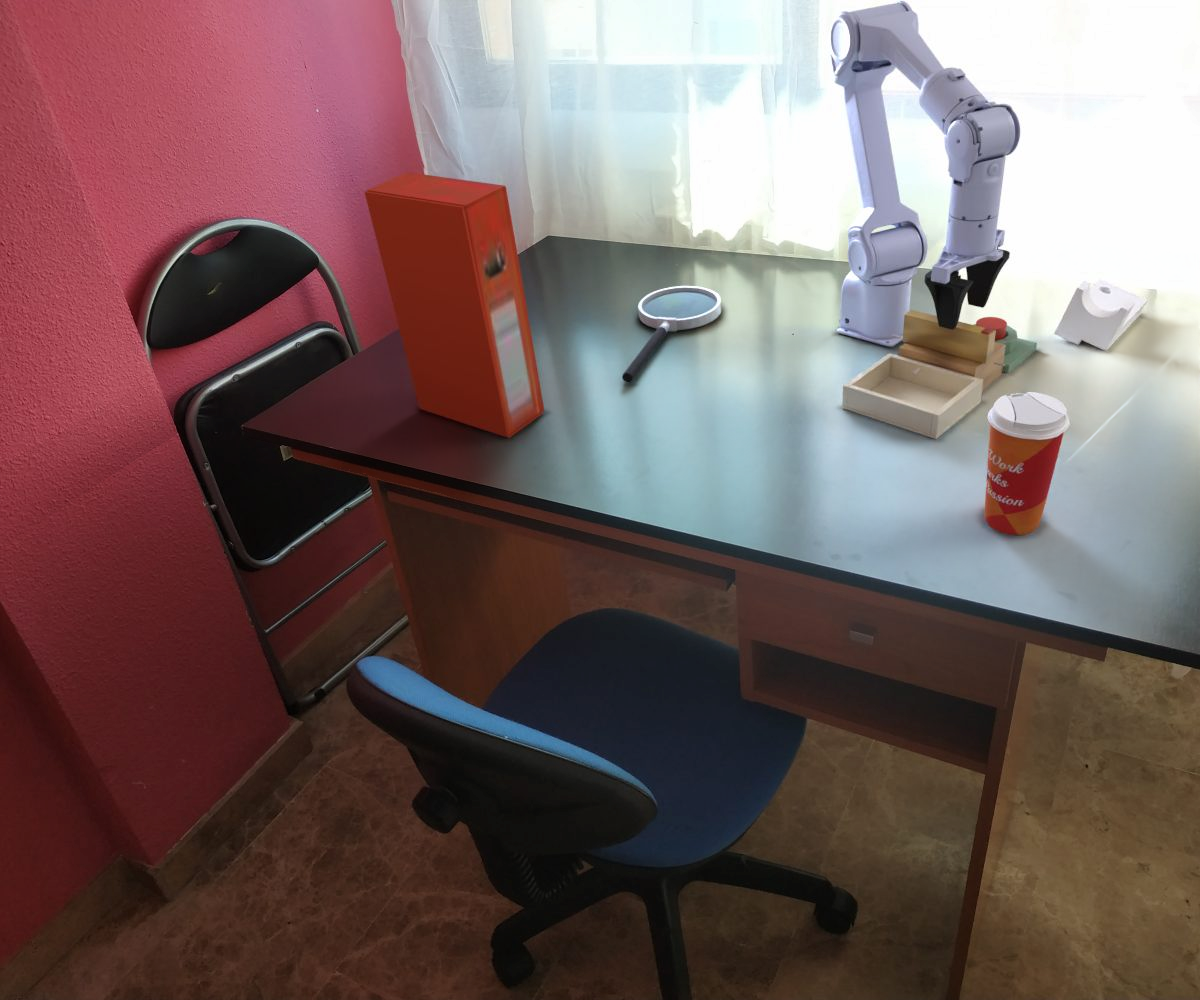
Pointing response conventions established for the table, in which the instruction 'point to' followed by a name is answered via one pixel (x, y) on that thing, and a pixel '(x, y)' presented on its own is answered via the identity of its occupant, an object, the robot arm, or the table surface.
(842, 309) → the robot arm
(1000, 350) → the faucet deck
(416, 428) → the table surface
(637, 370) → the magnifying glass
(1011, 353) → the tap control
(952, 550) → the table surface
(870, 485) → the table surface
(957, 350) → the golden tan long bar
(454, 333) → the file binder
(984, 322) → the tap button
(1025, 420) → the paper cup
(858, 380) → the wooden tray
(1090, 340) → the bracket
